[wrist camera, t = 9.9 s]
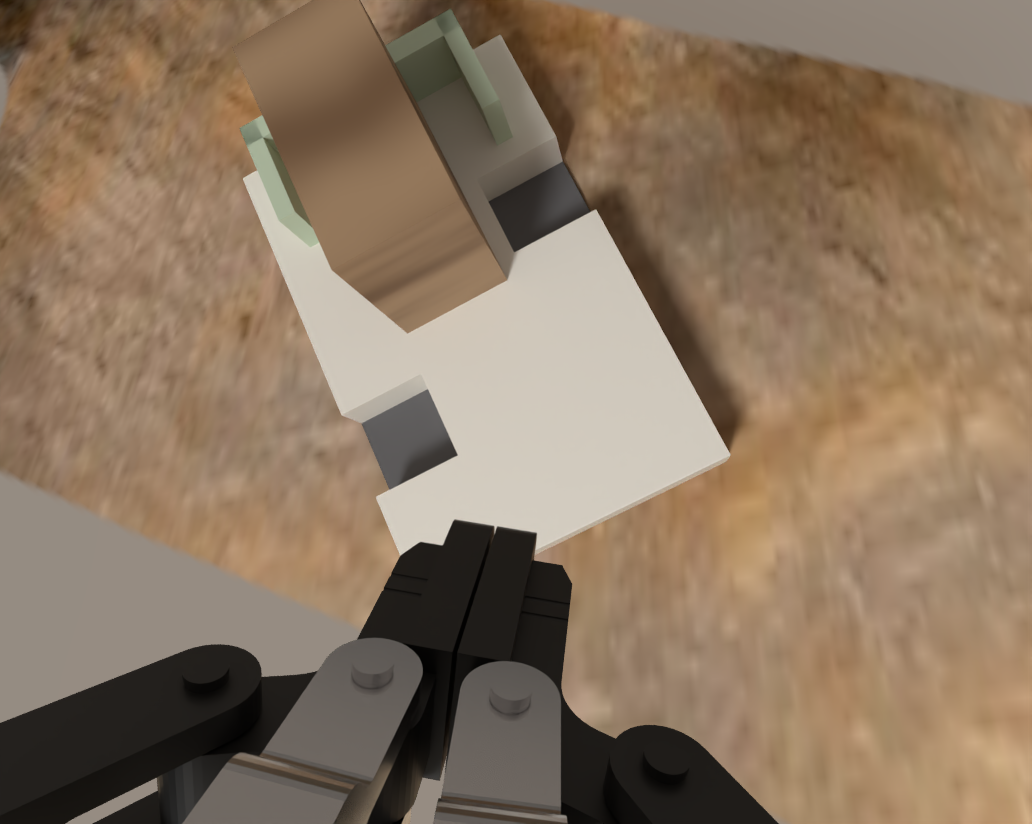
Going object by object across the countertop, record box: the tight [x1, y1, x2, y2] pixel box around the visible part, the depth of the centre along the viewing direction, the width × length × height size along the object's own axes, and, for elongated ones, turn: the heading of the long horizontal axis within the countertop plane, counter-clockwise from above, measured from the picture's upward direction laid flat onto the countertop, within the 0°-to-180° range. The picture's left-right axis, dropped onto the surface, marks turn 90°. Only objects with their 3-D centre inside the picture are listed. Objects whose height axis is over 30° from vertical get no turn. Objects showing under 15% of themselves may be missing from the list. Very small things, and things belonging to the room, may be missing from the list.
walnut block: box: [232, 0, 507, 334], centre depth 31 cm, size 10×5×8 cm, turn 26°
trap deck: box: [240, 9, 730, 556], centre depth 33 cm, size 22×14×6 cm, turn 25°
